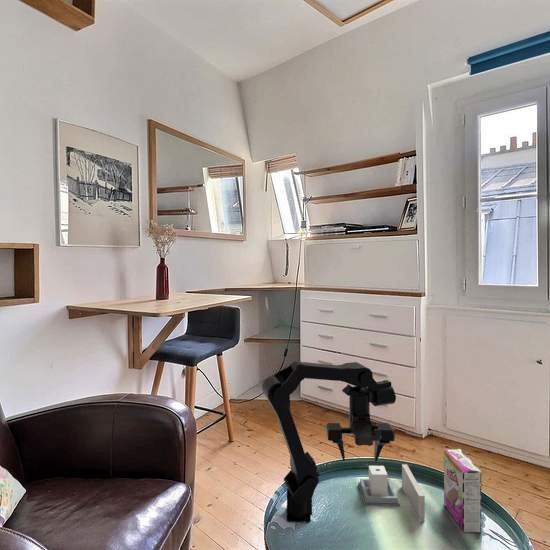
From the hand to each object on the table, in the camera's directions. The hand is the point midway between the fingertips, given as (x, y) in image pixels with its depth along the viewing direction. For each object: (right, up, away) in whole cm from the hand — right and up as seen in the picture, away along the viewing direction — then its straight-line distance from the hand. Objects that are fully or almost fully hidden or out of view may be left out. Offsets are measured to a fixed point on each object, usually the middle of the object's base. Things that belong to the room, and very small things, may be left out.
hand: (359, 460), depth 106 cm
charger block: (+6, -11, +3) cm, 13 cm away
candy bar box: (+26, -12, -7) cm, 29 cm away
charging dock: (+6, -12, +3) cm, 14 cm away
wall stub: (+15, -12, -1) cm, 19 cm away
